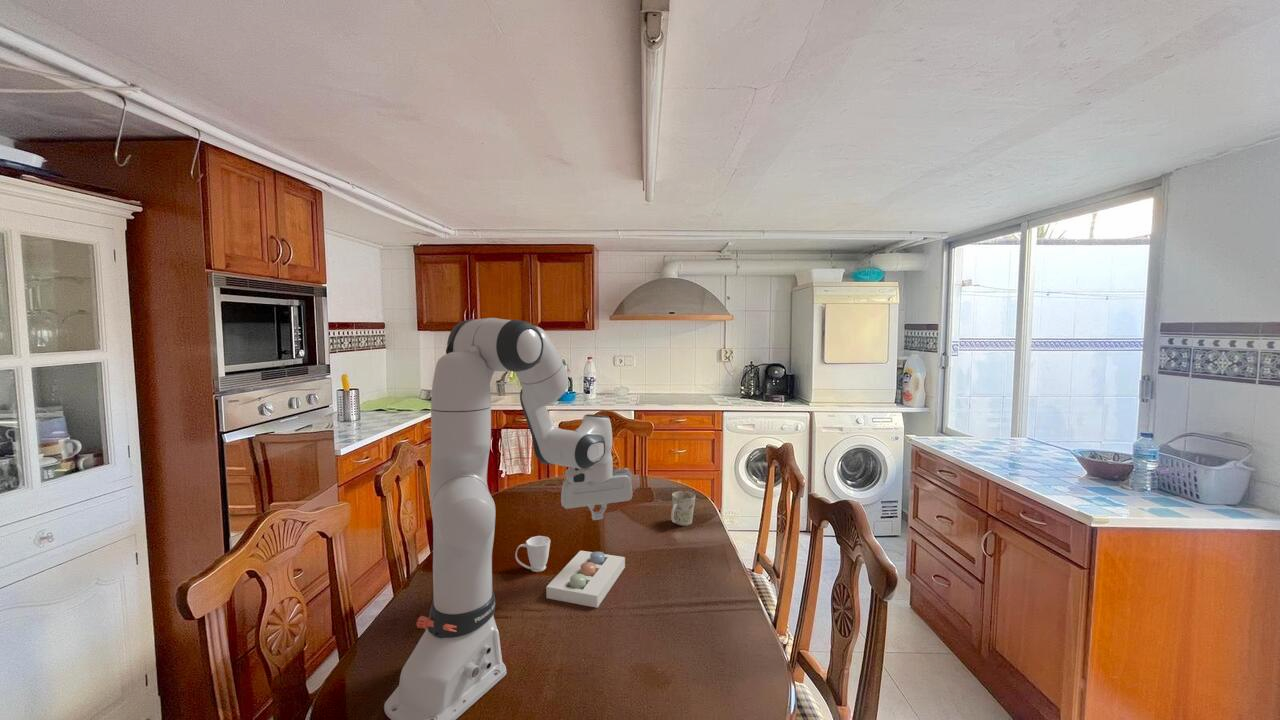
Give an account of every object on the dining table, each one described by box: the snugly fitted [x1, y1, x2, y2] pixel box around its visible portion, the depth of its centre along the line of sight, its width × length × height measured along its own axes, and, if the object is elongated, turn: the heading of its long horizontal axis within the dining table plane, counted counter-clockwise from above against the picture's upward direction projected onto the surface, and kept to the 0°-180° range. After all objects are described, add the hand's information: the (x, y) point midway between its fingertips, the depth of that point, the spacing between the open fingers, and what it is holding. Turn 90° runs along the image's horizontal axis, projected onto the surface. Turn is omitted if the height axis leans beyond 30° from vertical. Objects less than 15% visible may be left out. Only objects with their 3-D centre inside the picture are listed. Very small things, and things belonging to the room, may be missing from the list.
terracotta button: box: [581, 562, 595, 577], centre depth 126 cm, size 4×4×3 cm
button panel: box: [545, 550, 626, 608], centre depth 126 cm, size 21×14×3 cm
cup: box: [514, 535, 551, 573], centre depth 133 cm, size 7×10×8 cm
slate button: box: [590, 551, 605, 565], centre depth 132 cm, size 4×4×3 cm
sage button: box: [570, 574, 586, 590], centre depth 120 cm, size 4×4×3 cm
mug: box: [670, 490, 696, 527], centre depth 164 cm, size 8×13×10 cm, turn 148°
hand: (597, 518), depth 132 cm, fingers closed
